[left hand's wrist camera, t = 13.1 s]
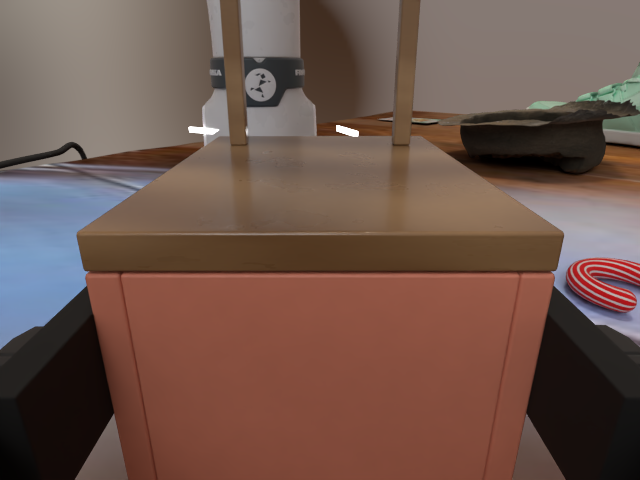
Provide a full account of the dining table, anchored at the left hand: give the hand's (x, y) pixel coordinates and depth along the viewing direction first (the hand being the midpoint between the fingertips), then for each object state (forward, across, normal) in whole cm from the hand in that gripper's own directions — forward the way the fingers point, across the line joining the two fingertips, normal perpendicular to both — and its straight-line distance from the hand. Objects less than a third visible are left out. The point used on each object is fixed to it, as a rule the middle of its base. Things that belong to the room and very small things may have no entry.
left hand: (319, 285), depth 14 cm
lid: (+3, 0, +2) cm, 4 cm away
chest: (+2, 0, -7) cm, 7 cm away
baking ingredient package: (+106, +24, -7) cm, 108 cm away
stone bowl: (+52, +29, -7) cm, 60 cm away
